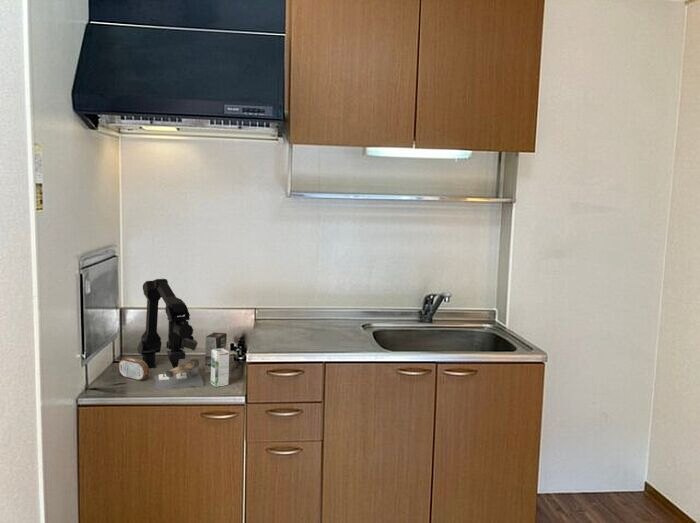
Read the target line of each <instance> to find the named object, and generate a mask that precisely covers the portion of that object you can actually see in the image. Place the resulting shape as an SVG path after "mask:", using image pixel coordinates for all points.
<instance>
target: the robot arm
mask: <svg viewBox="0 0 700 523" xmlns="http://www.w3.org/2000/svg"><path fill="white" fill-rule="evenodd" d="M142 291H143V296H145V299H146V315H145V316H146V318H145V330H144V333H142V335H141V338H140V342H139V344H138V346H137V348H136V349H137V353H138V354H139V355H140V356H141V360H143V361H144V362H145V363H146V364H147V365H148V368H149V369H150V368H157V366H158V364H157V362H156V353H161V349H162V341H161V340H162V338H161V336H160V335H159V333H158V319H159V318H158V317H159V316H158V315H159V302H160V300H161V298H162V300H163V302H164V303H165V307H164V310H165V313H166V314H165V315H166V316H167V320H168V329H167V330H168V333H167V338H168V340H167V341H166V343H165V345H166V346H165V348H166V349H167V350H168V351H167V358H168V360H169V361H170V364H171V366H172V369H173V368H176V367H178V366H179V362H180V360H185V359H186V352H185V349H188V350H191V351H196V348H197V346H198V341H197V340H196V339H194V335H193V334H194V329H193V327H192V325H190V324H189V321H190V319H191V318H190V316H191V315H190V312H189V309H188V307H187V305H186V303H185V302H184V300H183V299H181V298H179V297H177V295H176V294H175V293H174V291H173V289H172V288H171V286H170V284H169V281H168V279H167V278H156V279H153V280H146V281H145V282H143V284H142Z"/></svg>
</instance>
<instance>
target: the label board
mask: <svg viewBox="0 0 700 523" xmlns="http://www.w3.org/2000/svg"><path fill="white" fill-rule="evenodd" d="M154 385H155V386H156V387H155V389H156V388H168V387H183V388H190V387H189V386H196V387H204V381H203V378H202V375H201V372H199V366H194V367H192V368H190V373H189V372H188V373H187V372H181V373H179V374H176V375H174V376H173V377H166V373H163V374H162V373H160V374H158V375H154ZM187 386H188V387H187Z"/></svg>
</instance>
